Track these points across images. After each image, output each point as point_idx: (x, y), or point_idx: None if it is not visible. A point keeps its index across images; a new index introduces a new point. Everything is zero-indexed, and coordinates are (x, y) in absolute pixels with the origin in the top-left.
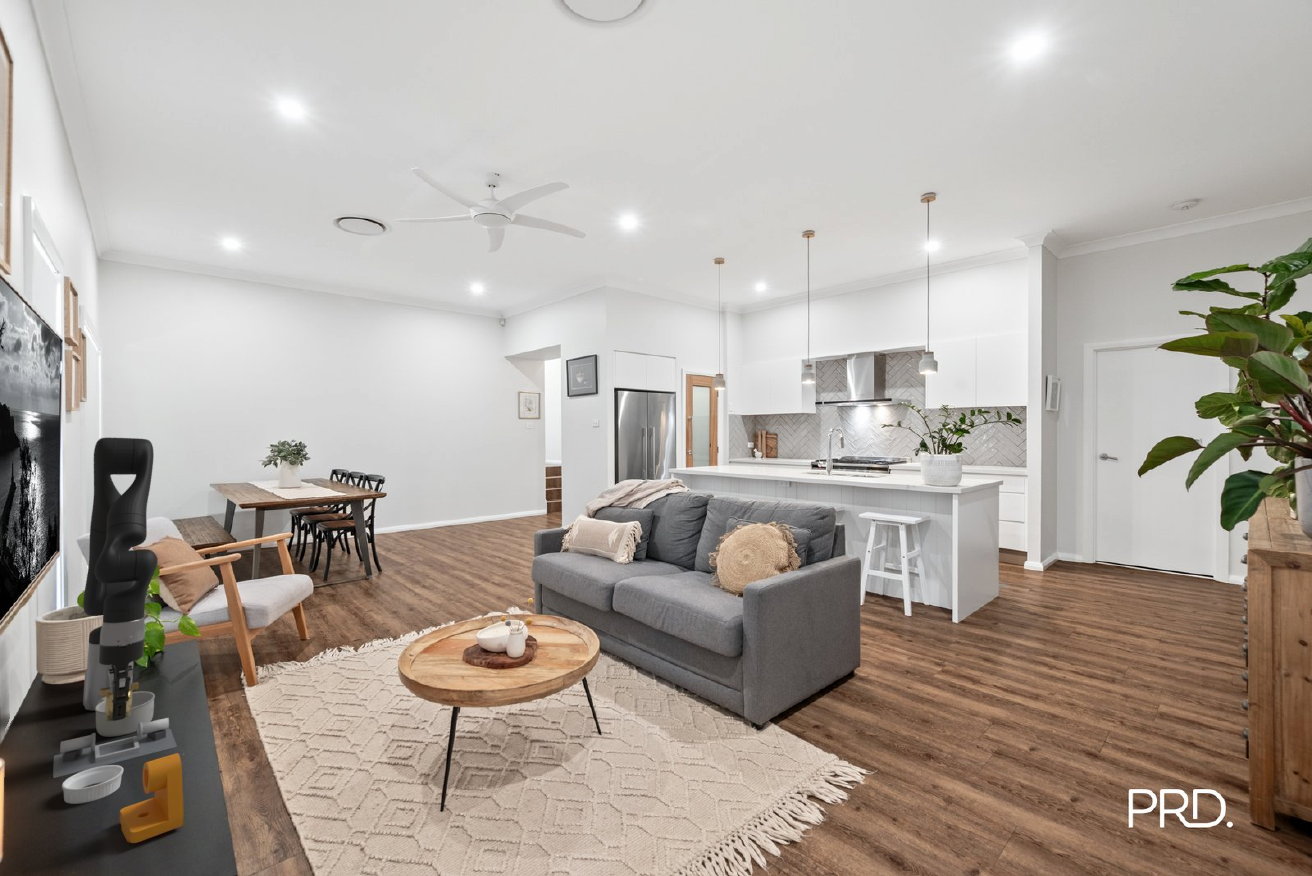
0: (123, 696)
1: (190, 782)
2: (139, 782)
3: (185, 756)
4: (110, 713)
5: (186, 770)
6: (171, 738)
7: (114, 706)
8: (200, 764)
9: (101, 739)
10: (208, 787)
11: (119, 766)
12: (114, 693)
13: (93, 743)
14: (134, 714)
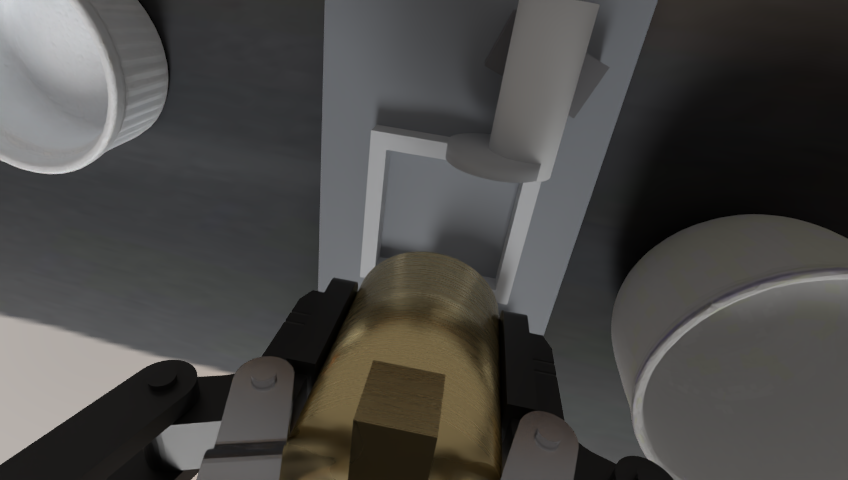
0: (150, 462)
1: (58, 291)
2: (139, 198)
3: (267, 341)
4: (360, 298)
5: (153, 310)
6: None
7: (296, 350)
8: (175, 345)
9: (731, 211)
10: (2, 308)
11: (66, 167)
12: (3, 464)
13: (448, 150)
14: (624, 372)
